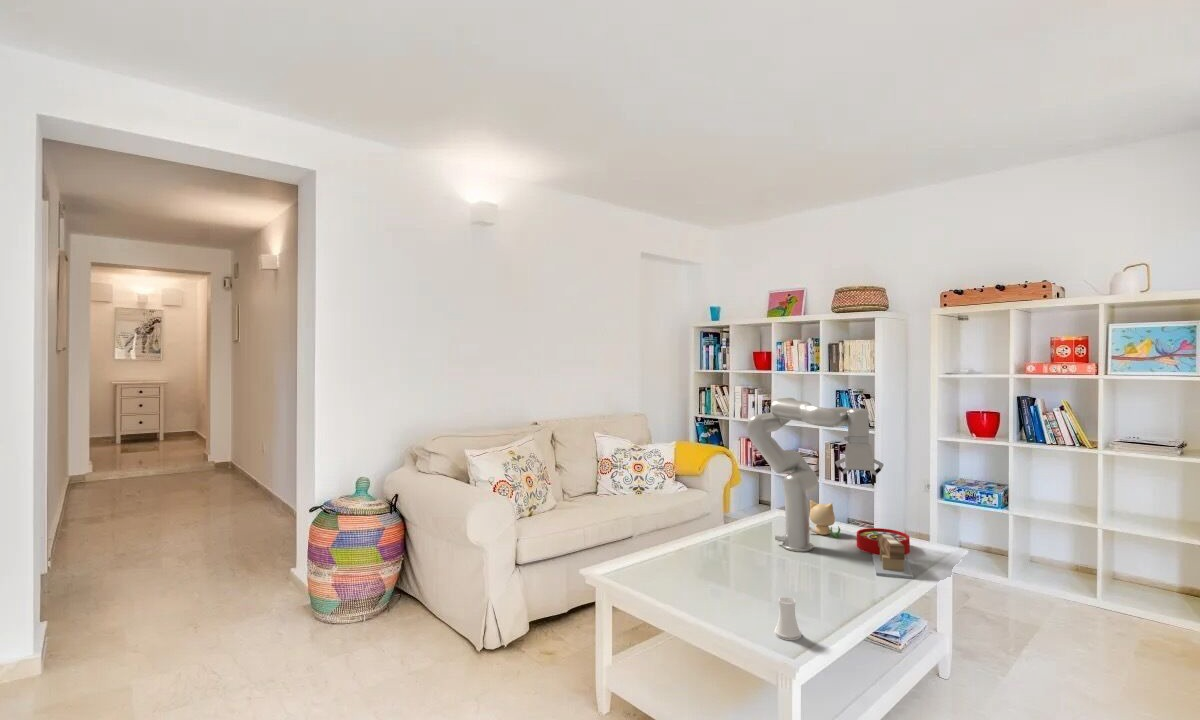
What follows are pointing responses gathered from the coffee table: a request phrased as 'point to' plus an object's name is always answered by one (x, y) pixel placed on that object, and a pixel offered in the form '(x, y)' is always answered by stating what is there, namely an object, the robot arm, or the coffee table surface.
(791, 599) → the white flared vase
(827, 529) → the kitten
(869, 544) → the toy clock
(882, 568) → the wall board
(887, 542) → the wooden block
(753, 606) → the coffee table surface
